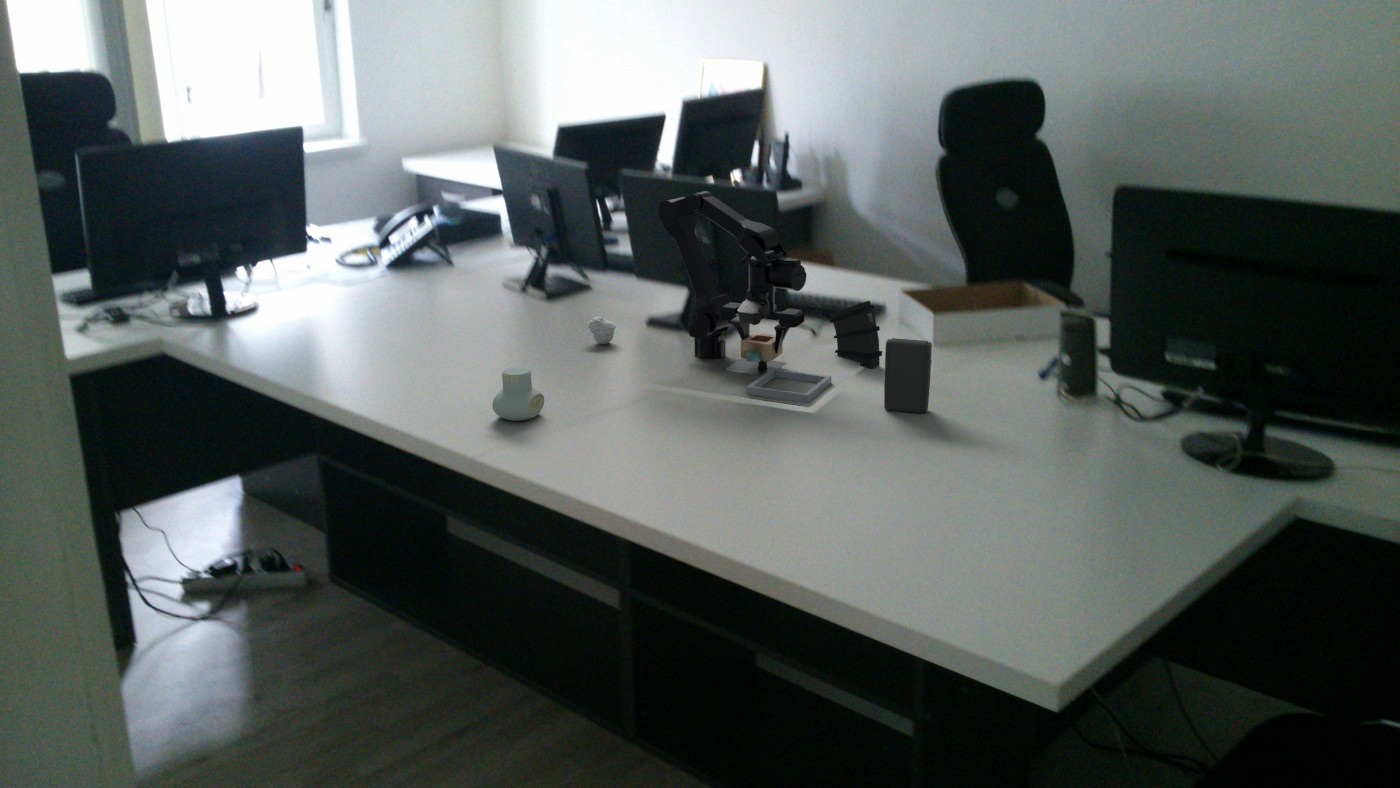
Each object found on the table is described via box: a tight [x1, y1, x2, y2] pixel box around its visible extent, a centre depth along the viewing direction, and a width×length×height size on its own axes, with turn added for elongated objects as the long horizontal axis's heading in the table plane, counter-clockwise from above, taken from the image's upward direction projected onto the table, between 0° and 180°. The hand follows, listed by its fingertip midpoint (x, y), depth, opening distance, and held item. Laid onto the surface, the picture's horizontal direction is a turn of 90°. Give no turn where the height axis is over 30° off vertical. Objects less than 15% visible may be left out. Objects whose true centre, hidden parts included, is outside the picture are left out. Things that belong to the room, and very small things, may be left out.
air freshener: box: [492, 366, 545, 422], centre depth 247 cm, size 11×8×10 cm
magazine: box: [829, 300, 883, 370], centre depth 278 cm, size 4×13×15 cm, turn 40°
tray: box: [746, 368, 832, 407], centre depth 259 cm, size 14×14×2 cm
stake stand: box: [723, 357, 787, 377], centre depth 274 cm, size 11×11×6 cm
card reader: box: [883, 337, 933, 414], centre depth 246 cm, size 9×4×15 cm, turn 71°
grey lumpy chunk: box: [587, 316, 617, 345], centre depth 296 cm, size 6×7×7 cm
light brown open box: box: [740, 332, 783, 362], centre depth 271 cm, size 7×9×4 cm
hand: (761, 351), depth 272 cm, fingers closed on light brown open box, 7 cm apart
